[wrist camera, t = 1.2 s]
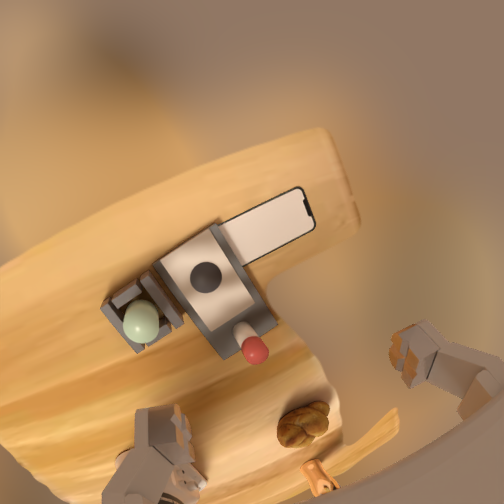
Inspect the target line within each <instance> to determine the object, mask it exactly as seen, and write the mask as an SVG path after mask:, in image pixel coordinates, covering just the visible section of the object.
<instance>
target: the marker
mask: <svg viewBox="0 0 504 504" xmlns="http://www.w3.org/2000/svg"><path fill="white" fill-rule="evenodd" d="M233 335H234V337H235V339H236V340H237V342H238V344H239V346H240V347H241V350H242V352H243V354H244V356H245V358H246V360H247V361H248V362H249V363H251V364H260V363H262V362H264V361H265V360H266V359H267V357H268V355H269V350H268V348H267V346H266V345H265V344H264V342H263V341H262V339H261V338H259V336H258V335H257V334H256V332H255V331H254V329H253V328H252V327H251V325H250V324H249V323H247V322H239V323H237V324H236V325H235V326H234V328H233Z"/></svg>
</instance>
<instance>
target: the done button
mask: <svg viewBox="0 0 504 504" xmlns="http://www.w3.org/2000/svg"><path fill="white" fill-rule="evenodd" d="M123 329H124V332H125V334H126V336H127V337H128V338H129V339H130V340H132V341H134V342H136V343H148V342H150V341H152V340H154V339H155V338H156V336H157V335H158V332H159V314H158V310H157V308H156V307H155V305H154V304H152V303H151V302H149V301H147V300H135V301H133V302H132V303H130V304H129V305H128V307H127V309H126V312H125V317H124V322H123Z"/></svg>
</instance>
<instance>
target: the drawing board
mask: <svg viewBox="0 0 504 504" xmlns="http://www.w3.org/2000/svg"><path fill="white" fill-rule="evenodd" d="M153 266H154V268H155V269H156V271H157V272H158V274H159V275H160V277H161V278H162V279H163V281H164V282H165V284H166V285H167V286H168V288H169V289H170V291H171V292H172V293H173V295H174V296H175V298H176V299H177V300H178V302H179V303H180V304H181V306H182V307H183V308H184V310H185V311H186V313H187V314H188V315H189V317H190V318H191V319H192V321H193V322H194V323H195V324H196V326H197V327H198V328H199V330H200V331H201V332H202V334H203V335H204V336H205V337H206V339H207V340H208V341H209V343H210V344H211V345H212V346H213V348H214V349H215V350H216V351H217V353H218V354H219V355H220V356H221V358H222V359H223V360H225V359H227V358H229V357H230V356H232V355H233V354H235V353H236V352H238V351H239V350H241V347H240V346H239V344H238V342H237V340H236V339H235V337H234V335H233V328H234V326H235V325H236V324H237V323H239V322H247V323H249V324H250V325H251V327H252V328H253V329H254V331H255V332H256V334H257V335H258V336H259V337H261V336H262V335H264V334H265V333H266V332H268V331H269V330H271V329H272V328H274V327H275V326H277V325H278V324H277V322H276V320H275V319H274V317H273V315H272V314H271V312H270V311H269V309H268V307H267V306H266V304H265V303H264V301H263V299H262V298H261V296H260V295H259V293H258V291H257V290H256V288H255V286H254V285H253V283H252V282H251V280H250V278H249V277H248V275H247V273H246V272H245V270H244V269H243V267H242V265H241V264H240V262H239V260H238V259H237V257H236V255H235V254H234V252H233V251H232V249H231V247H230V246H229V244H228V242H227V241H226V239H225V237H224V236H223V234H222V232H221V231H220V229H219V228H218V226H217V224H216V223H214V224H212V225H210V226H209V227H207V228H206V229H204V230H203V231H201V232H199V233H198V234H196V235H195V236H193V237H192V238H190V239H189V240H187V241H186V242H184V243H183V244H181V245H179V246H178V247H176V248H175V249H173V250H172V251H170V252H169V253H167V254H166V255H164V256H163V257H161V258H160V259H158V260H157V261H155V262H154V263H153Z"/></svg>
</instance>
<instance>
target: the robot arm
mask: <svg viewBox="0 0 504 504" xmlns="http://www.w3.org/2000/svg"><path fill="white" fill-rule="evenodd" d="M391 341H392V342H393V344H392V346H391V347H390V348H389V358H390V361H391V364H392V366H393V367H394V368H395V369H396V370H398V371H400V372H401V378H402V380H403V381H404V382H405V384H406V385H407V386H408V388H409V389H411V388H413V387H414V386H416V385H419V384H420V383H422V382H424V381H426V380H427V382H429V383H431V384H433V385H435V386H437V387H439V388H441V389H443V390H445V391H447V392H449V393H451V394H453V395H455V396H457V397H459V398H461V399H462V401H461V403H460V405H459V406H458V408H457V412H458V414H459V415H460V417H461V418H462V419H463V422H461V423H460V424H458V425H457V426H455V427H454V428H453V429H451V430H450V431H448V432H447V433H445V434H444V435H442V436H441V437H439V438H437V439H436V440H434V441H433V442H431V443H429V444H428V445H426V446H425V447H423V448H421V449H419V450H418V451H416V452H414V453H412V454H411V455H409V456H407V457H406V458H403V459H402V460H400V461H398V462H396V463H394V464H392V465H390V466H388V467H386V468H384V469H382V470H380V471H378V472H376V473H374V474H372V475H370V476H367V477H365V478H363V479H360V480H358V481H356V482H354V483H351V484H349V485H346V486H344V487H341V488H339V489H336V490H333V491H331V492H328V493H325V494H322V495H320V496H317V497H314V498H311V499H308V500H304V501H302V502H298V503H295V504H504V362H503V361H502V360H501V359H500V358H499V357H497V356H494V355H491V354H488V353H485V352H482V351H478V350H475V349H472V348H469V347H466V346H463V345H460V344H457V343H454V342H452V343H449V342H448V341H447V340H446V339H445V338H444V337H443V335H442V334H441V333H440V332H439V331H438V330H437V329H436V328H435V327H434V326H433V325H432V324H431V323H430V322H429V321H428V320H426V319H423V320H421V321H419V322H417V323H415V324H412V325H410V326H408V327H406V328H404V329H402V330H400V331H398V332H396V333H394V334H393V335H392V338H391ZM191 438H192V431H191V427H190V424H189V421H188V419H187V417H186V416H185V414H183V413H181V411H180V407H179V406H178V404H177V403H175V404H169V405H163V406H157V407H149V408H143V409H137V410H136V413H135V437H134V448H131V449H130V450H128V451H126V452H123V453H122V454H120V455H119V456H118V457H117V459H116V461H115V466H116V470H117V471H116V472H115V474H114V475H113V477H112V478H111V480H110V481H109V483H108V484H107V486H106V487H105V489H104V490H103V492H102V504H196V503H197V502H198V501H199V498H200V494H199V491H201V490H202V489H203V488H205V487H206V485H207V480H206V479H205V478H204V477H203V476H202V475H201V474H200V473H199V472H198V471H197V470H196V469H195V468H194V467H193V465H192V464H191V463H192V462H196V461H195V453H194V447H193V445H192V444H191V443H190V442H189V441H190V439H191Z"/></svg>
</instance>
